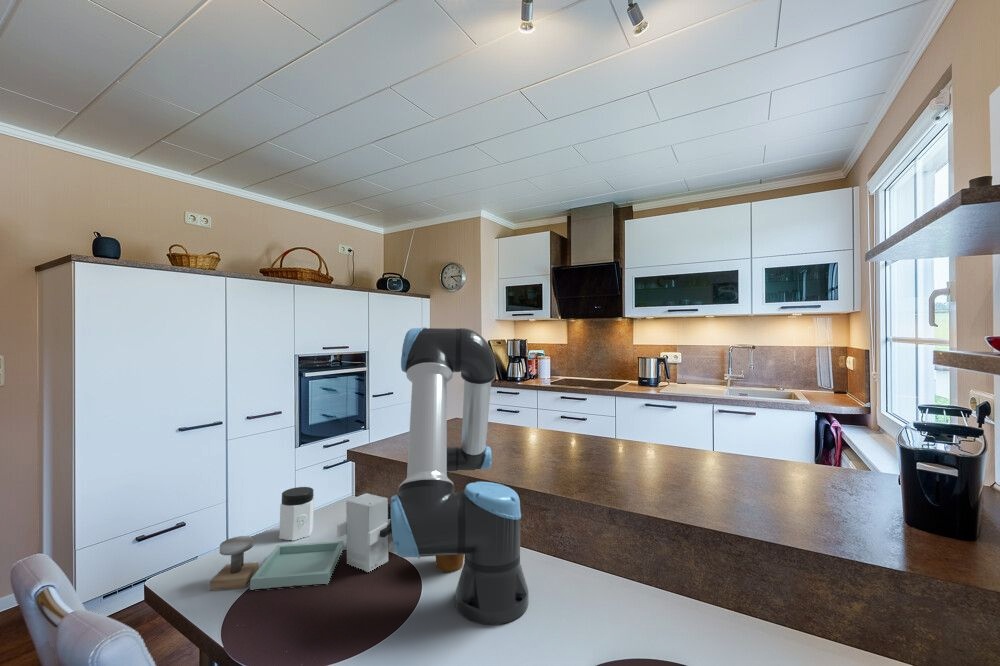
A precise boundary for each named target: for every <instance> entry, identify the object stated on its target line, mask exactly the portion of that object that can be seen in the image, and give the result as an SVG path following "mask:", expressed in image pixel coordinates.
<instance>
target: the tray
mask: <svg viewBox="0 0 1000 666" xmlns="http://www.w3.org/2000/svg"><path fill="white" fill-rule="evenodd" d="M342 551H343V552H344V540H338V541H337V540H335V541H324V542H323V541H322V542H307V543H306V542H305V543H294V544H293V543H292V544H279V545H276V547H275V548H274V549H273V550H272V552H271V553H270V554H269V555H268V556H267V558H266V559H265V560H264V561H263V563H262V564H261V566H259V569H258V570H257V572H256V573H255V574H254V575H253V577H252V578H251V579H250V582H249V591H250V590H254V589H260V588H271V587H282V586H293V585H310V584H311V585H312V584H326V585H329V584H328V583H330V582H329V581H331V579H332V577H331V576H333V575H332V573H333V574H334V572H335V570H336V568H335V566H336V564H337V565H338V563H339V561H340V559H339V557H340V555H341V556H342V554H343V552H342ZM341 553H342V554H341ZM340 558H341V557H340ZM338 560H339V561H338ZM337 562H338V563H337ZM336 567H337V566H336ZM334 569H335V570H334ZM333 571H334V572H333ZM330 578H331V579H330Z"/></svg>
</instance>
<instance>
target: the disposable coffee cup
mask: <svg viewBox="0 0 1000 666" xmlns="http://www.w3.org/2000/svg"><path fill="white" fill-rule="evenodd" d="M464 558H465V554H456V555H441V556H435V560H436V561H435V562H436V568H437V570H439V571H441V572H442V573H443V572H445V573H453V572H457V571H458V570H461V568H463V566H464Z"/></svg>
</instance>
